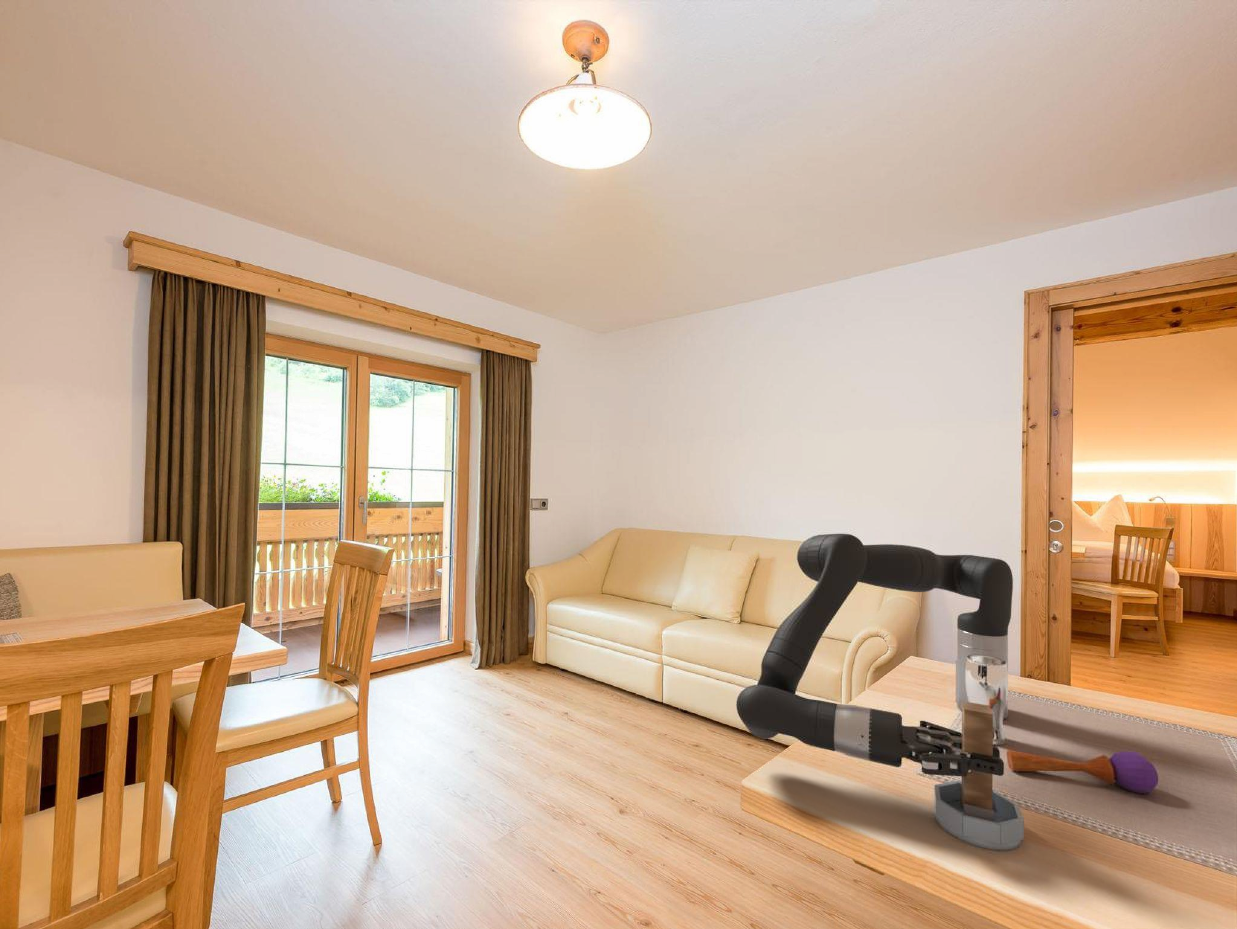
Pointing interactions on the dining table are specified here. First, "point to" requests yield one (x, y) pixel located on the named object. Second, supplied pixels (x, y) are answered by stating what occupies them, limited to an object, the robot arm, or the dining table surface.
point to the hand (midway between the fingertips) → (1000, 761)
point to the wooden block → (981, 742)
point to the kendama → (1095, 768)
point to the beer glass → (988, 688)
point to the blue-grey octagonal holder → (979, 819)
